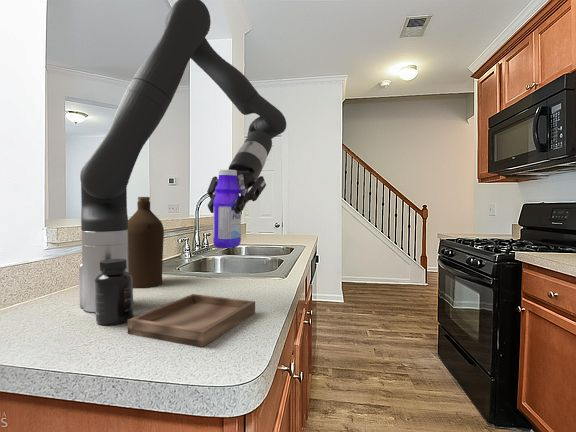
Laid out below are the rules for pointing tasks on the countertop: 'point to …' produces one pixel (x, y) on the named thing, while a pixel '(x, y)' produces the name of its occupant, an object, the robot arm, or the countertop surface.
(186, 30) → the robot arm
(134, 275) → the olive oil
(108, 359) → the countertop surface
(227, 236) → the bottle
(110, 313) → the supplement bottle
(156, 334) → the walnut tray
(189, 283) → the countertop surface
